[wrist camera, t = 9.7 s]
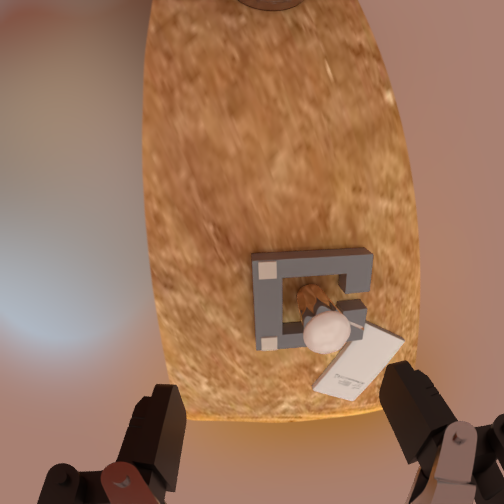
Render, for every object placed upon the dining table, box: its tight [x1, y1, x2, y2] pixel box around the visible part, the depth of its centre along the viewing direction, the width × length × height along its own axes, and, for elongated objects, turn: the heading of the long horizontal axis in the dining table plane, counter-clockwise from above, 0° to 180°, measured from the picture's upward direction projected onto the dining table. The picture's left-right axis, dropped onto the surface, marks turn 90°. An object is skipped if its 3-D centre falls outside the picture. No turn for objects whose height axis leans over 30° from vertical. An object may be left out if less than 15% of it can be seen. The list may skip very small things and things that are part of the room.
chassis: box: [251, 248, 373, 351], centre depth 31 cm, size 11×13×3 cm
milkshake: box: [296, 284, 364, 354], centre depth 28 cm, size 4×5×10 cm
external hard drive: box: [312, 320, 405, 401], centre depth 36 cm, size 2×8×12 cm
